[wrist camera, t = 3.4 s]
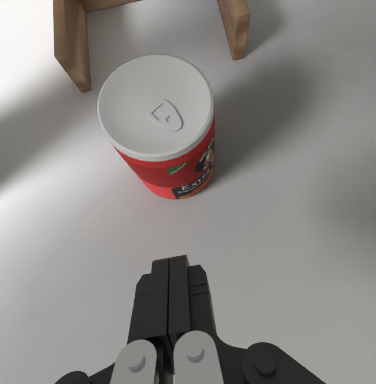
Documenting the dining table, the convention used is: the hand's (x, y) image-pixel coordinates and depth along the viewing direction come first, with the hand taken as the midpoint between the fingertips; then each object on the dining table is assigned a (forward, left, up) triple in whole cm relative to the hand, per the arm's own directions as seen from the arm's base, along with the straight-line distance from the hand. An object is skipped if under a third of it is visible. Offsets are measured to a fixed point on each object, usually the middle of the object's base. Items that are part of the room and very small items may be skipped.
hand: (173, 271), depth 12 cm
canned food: (0, +11, -13) cm, 17 cm away
